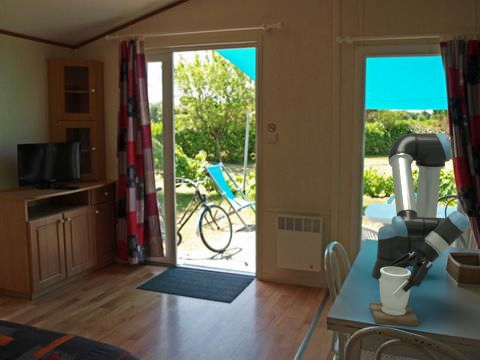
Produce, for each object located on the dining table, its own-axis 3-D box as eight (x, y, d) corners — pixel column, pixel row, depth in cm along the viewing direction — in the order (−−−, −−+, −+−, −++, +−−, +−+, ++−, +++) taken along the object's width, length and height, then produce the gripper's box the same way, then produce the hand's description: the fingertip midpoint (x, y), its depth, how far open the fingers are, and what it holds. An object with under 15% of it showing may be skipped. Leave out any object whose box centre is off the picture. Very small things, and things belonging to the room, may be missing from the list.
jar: (408, 319, 160) (410, 277, 158) (377, 314, 164) (378, 273, 162) (409, 308, 170) (411, 268, 168) (379, 303, 173) (381, 264, 172)
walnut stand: (369, 308, 175) (369, 302, 174) (408, 309, 173) (408, 304, 173) (376, 323, 161) (376, 318, 161) (418, 326, 159) (418, 320, 159)
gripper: (457, 265, 153) (410, 310, 154) (422, 245, 178) (382, 284, 178) (442, 249, 152) (395, 295, 153) (409, 231, 177) (369, 270, 177)
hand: (388, 289), depth 166 cm, fingers open, 13 cm apart
